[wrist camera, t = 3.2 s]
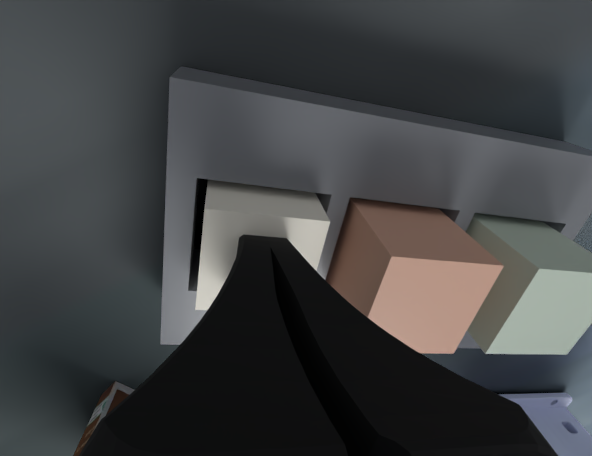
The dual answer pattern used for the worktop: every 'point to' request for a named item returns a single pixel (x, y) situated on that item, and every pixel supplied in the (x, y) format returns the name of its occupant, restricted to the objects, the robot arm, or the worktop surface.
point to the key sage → (532, 288)
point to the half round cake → (104, 409)
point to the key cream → (254, 228)
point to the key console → (348, 168)
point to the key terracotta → (411, 272)
